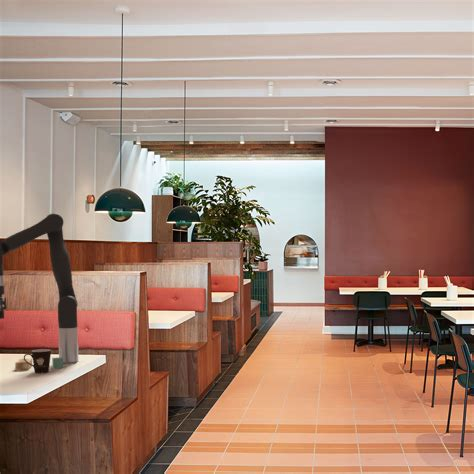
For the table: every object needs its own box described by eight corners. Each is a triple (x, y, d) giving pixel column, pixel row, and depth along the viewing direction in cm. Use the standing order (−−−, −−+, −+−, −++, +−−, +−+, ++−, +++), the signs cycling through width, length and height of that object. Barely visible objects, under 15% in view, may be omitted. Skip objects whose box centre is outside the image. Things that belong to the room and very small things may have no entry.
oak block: (32, 366, 335) (32, 358, 335) (28, 370, 324) (28, 362, 324) (19, 367, 334) (19, 358, 334) (15, 371, 323) (15, 362, 323)
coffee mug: (55, 370, 321) (54, 349, 321) (44, 374, 312) (43, 352, 313) (33, 369, 324) (33, 348, 324) (22, 373, 316) (22, 351, 316)
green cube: (62, 366, 333) (61, 357, 333) (63, 368, 329) (63, 358, 329) (52, 367, 331) (52, 357, 331) (53, 368, 327) (53, 359, 327)
